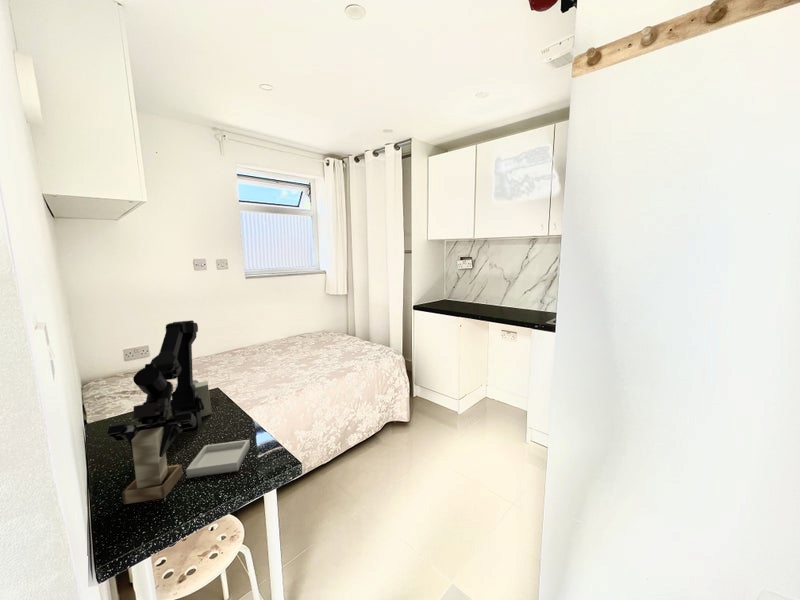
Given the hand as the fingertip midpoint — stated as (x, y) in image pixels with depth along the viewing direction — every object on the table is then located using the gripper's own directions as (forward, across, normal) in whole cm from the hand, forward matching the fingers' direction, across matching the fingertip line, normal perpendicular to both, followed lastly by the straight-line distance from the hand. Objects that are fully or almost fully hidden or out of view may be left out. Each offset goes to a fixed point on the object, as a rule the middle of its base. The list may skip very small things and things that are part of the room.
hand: (148, 459), depth 81 cm
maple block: (+4, 0, +6) cm, 7 cm away
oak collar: (+5, 0, +7) cm, 9 cm away
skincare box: (-27, +2, +40) cm, 48 cm away
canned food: (-32, -5, +45) cm, 55 cm away
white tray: (+1, +14, +12) cm, 19 cm away
